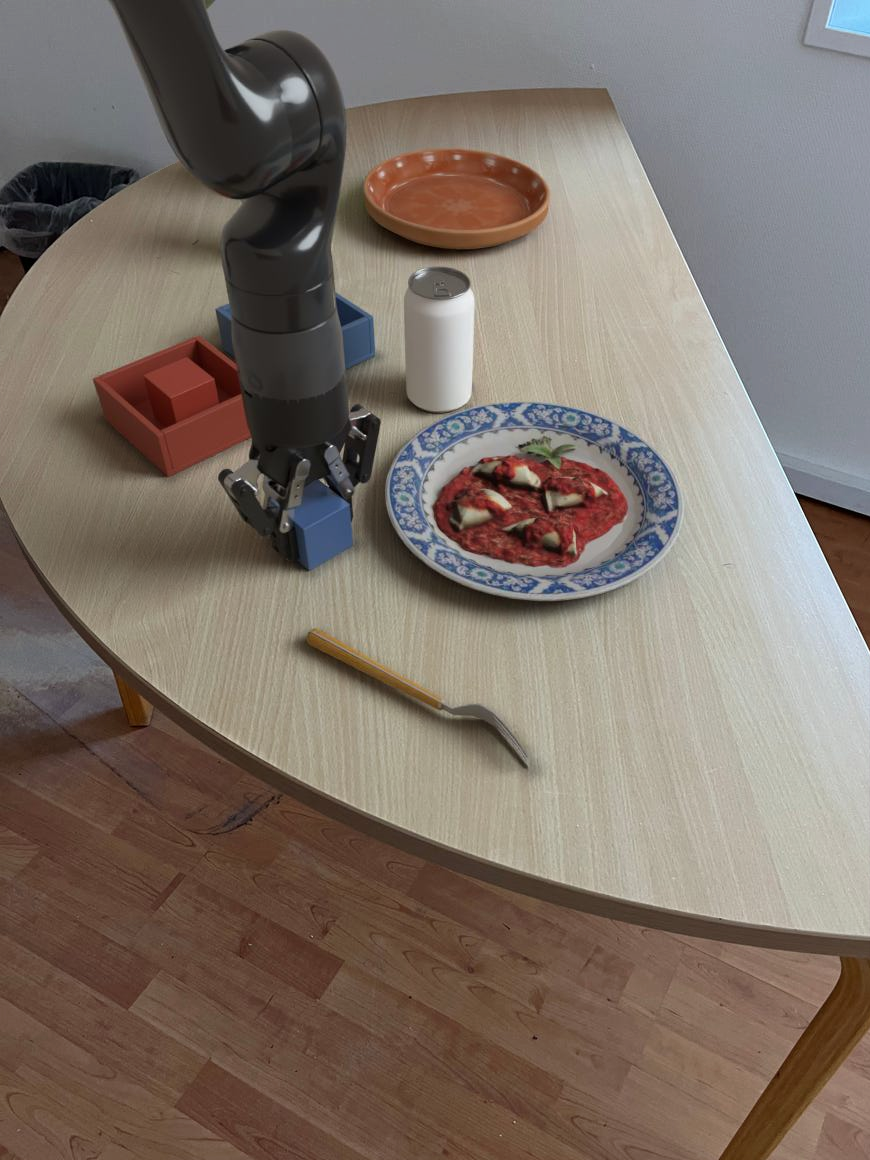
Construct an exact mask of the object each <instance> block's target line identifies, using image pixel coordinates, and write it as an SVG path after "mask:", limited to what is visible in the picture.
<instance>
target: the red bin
mask: <svg viewBox="0 0 870 1160" xmlns="http://www.w3.org/2000/svg"><path fill="white" fill-rule="evenodd" d="M186 357H187V358H189V359H190V360H191V361H192V362H194V363H195V364H196V365H198V366H199V367H200V368H201V369H203V370H204V371H205V372H206V373H208V374H209V375H210V376H211V377H213V378H214V380H215V385H216V390H217V395H218V400H219V404H218V405H215V406H213V407H211V408H209V409H207V410H204V411H202V412H200V413H198V414H196V415H193V416H191V417H189V418H187V419H185V420H182V421H180V422H178V423H176V424H173V425H171V426H169V427H165V426H164V425H163V424H162V423H161V422H160V421H158V420H157V419H156V418H155V417H154V414H153V410H152V406H151V403H150V399H149V395H148V391H147V388H146V384H145V380H144V376H143V375H145V374H148V373H150V372H152V371H155V370H157V369H160V368H162V367H164V366H167V365H169V364H172V363H174V362H176V361H179V360H181V359H183V358H186ZM92 381H93V385H94V388H95V392H96V394H97V398H98V401H99V404H100V407H101V410H102V414H103V416H104V417H103V418H104V419H105V421H106V422H107V423H109V424H110V426H112V427H113V428H114V429H115V430H116V431H118V432H119V434H121V435H122V436H123V437H124V438H125V439H126V440H127V441H128V442H129V443H131V444H132V445H133V446H134V447H135V448H136V449H137V450H138V451H139V452H140V453H141V454H142V455H144V456H145V457H146V458H147V459H148V460H149V461H150V462H151V463H153V465H155V466H156V467H157V468H158V469H159V470H160V471H161V472H163V474H164V475H166V476H167V477H168V478H170V477H173V476H174V475H175V474H178V473H180V472H182V471H185V470H186V469H188V468H191V467H193V466H194V465H197V464H199V463H201V462H203V461H206V460H207V459H209V458H211V457H213V456H215V455H217V454H220V453H222V452H223V451H226V450H228V449H230V448H232V447H234V446H236V445H239V444H240V443H242V442H245V441H246V440H248V439H250V438H251V434H250V432H249V429H248V426H247V422H246V417H245V411H244V406H243V400H242V395H241V389H240V384H239V378H238V372H237V367H236V362H234V361H233V360H231V359H230V358H229V357H227V355H225V354H224V353H222V352H221V351H220V350H218V349H217V348H216V347H215V346H213V345H212V344H210V343H209V342H208V341H207V340H205V339H204V338H203V337H201V336H200V335H195V336H193V337H190V338H188V339H186V340H183V341H181V342H178V343H176V344H174V345H171V346H169V347H166V348H163V349H161V350H159V351H157V352H155V353H152V354H149V355H147V356H145V357H141V358H140V359H137V360H134V361H132V362H130V363H127V364H125V365H122V366H120V367H117V368H115V369H112V370H110V371H108V372H106V373H105V372H104V373H103V374H100V375H98V376H95V377H93V378H92ZM251 439H252V438H251Z"/></svg>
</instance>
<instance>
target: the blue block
mask: <svg viewBox="0 0 870 1160" xmlns="http://www.w3.org/2000/svg"><path fill="white" fill-rule="evenodd" d="M279 509H280V506H279ZM293 527H295V530H296V537H297V544H298V550H299V557H300V558H299V559H298V560H297V562H299V564H301V565H302V566H303V567H304V568H305V569H307V570H308V571H309V572H310V571H311V570H313V569H315V568H317V567H318V566H320V565H323V564H324V563H326V562H327V561H329V560H331V559H332V558H334V557H336V556H338V555H339V554H342V553H343V552H345V551H346V550H348V549H350V548H351V547H354V540H353V529H352V522H351V516H350V505H349V504H348V503H347V502H346V501H345V500H343V499H342V498H341V497H340V496H339V495H337V494H336V493H335V492H334V491H332V490H331V489H330V488H329V486H328V485H327V484H326V483H325V482H322V481H321V479H319V480H315V481H313V482H311V483H310V484H309V485H308V486H306V487H305V488H304V490H303V496H302V501H301V505H300V507H296V510H295V515H294V521H293Z"/></svg>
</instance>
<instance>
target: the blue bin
mask: <svg viewBox="0 0 870 1160" xmlns="http://www.w3.org/2000/svg"><path fill="white" fill-rule="evenodd" d="M335 293H336V305H337V311H338V316H339V320H340V324H341V329H342V336H343V346H344V359H345V370H349V369H350V368H352V367H354V366H357V365H359V364H361V363H363V362H365V361H367V360H369V359H371V358H373V357H375V356H376V343H375V324H374V323H375V322H374V316H373V315H372V314H370V313H369V312H367V311H365V309H362V308H361V307H359V306H358V305H356V304H354V303H353V302H352V301H350V300H349V299H347V298H346V297H344V296H343V295H341V294H339V293H338V292H337V291H335ZM214 311H215V316H216V321H217V326H218V331H219V336H220V342H221V347H222V350H224V351H225V352H227V354H229V355H231V356H232V357H233V358H235V356H234V350H233V343H232V332H231V311H230V305H229V303H227V304H224V305H222V306H220V307H217V308H216V307H215V309H214Z"/></svg>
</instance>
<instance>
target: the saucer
mask: <svg viewBox="0 0 870 1160" xmlns="http://www.w3.org/2000/svg"><path fill="white" fill-rule="evenodd" d="M362 185H363V187H362V191H363V193H362V194H363V202H364V206H365V209H366V211H367V213H368V215H370V217H371V218H372V219H373V220H374V221H375V222H376V223H378V224H379V225H380V226H381V227H383V228H385V229H387V230H389V231H390V232H392V233H394V234H396V235H398V236H400V237H402V238H404V239H406V240H409V241H412V242H413V243H416V244H421V245H425V246H429V247H434V248H439V249H449V250H475V249H485V248H489V247H496V246H500V245H503V244H506V243H509V242H511V241H513V240H515V239H518V238H520V237H523V236H524V235H527V234H528V233H530V232H532V231H534V230H535V229H536V228H538V227H539V226H540V225H541V224H542V223H543V222H544V221H545V220H546V218H547V216H548V212H549V207H550V203H551V201H550V200H551V190H550V187H549V185H548V183H547V181H546V180H545V179H544V178H543V176H541V175H540V173H538V172H537V170H536V171H535V170H534V169H533V168H531V167H529V166H528V165H526V164H525V163H522V162H520V161H519V160H516V159H513V158H511V157H507V156H504V155H502V154H501V155H500V154H498V153H493V152H490V151H483V150H478V149H472V148H471V149H469V148H457V147H443V148H442V147H441V148H428V149H419V150H413V151H408V152H404V153H402V154H398V155H395V156H392V157H390V158H388V159H386V160H384V161H381V162H380V163H378V164H377V165H375V166H374V167H373V168H372V169H371V170H370V171H369V172H368V173H367V174H366V176H365V178H364V181H363V184H362Z"/></svg>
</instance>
